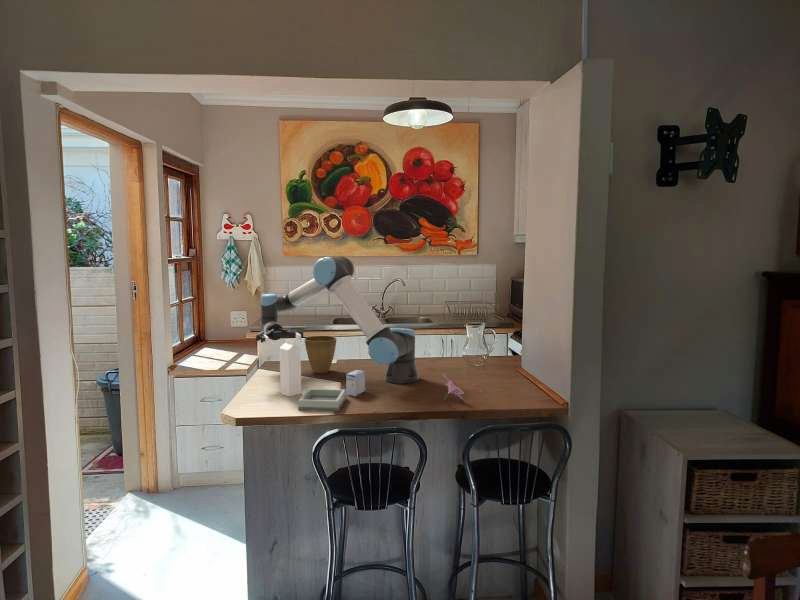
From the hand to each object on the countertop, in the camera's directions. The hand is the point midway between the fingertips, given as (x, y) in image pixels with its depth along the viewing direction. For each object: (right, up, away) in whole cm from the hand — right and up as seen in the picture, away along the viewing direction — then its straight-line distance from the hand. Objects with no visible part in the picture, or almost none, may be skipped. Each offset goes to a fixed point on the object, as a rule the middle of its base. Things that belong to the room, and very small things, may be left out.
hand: (284, 339), depth 212 cm
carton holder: (+19, -23, -20) cm, 36 cm away
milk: (+4, -22, -6) cm, 23 cm away
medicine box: (+30, -22, -6) cm, 38 cm away
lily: (+69, -23, -14) cm, 74 cm away
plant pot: (+11, -17, +28) cm, 35 cm away
